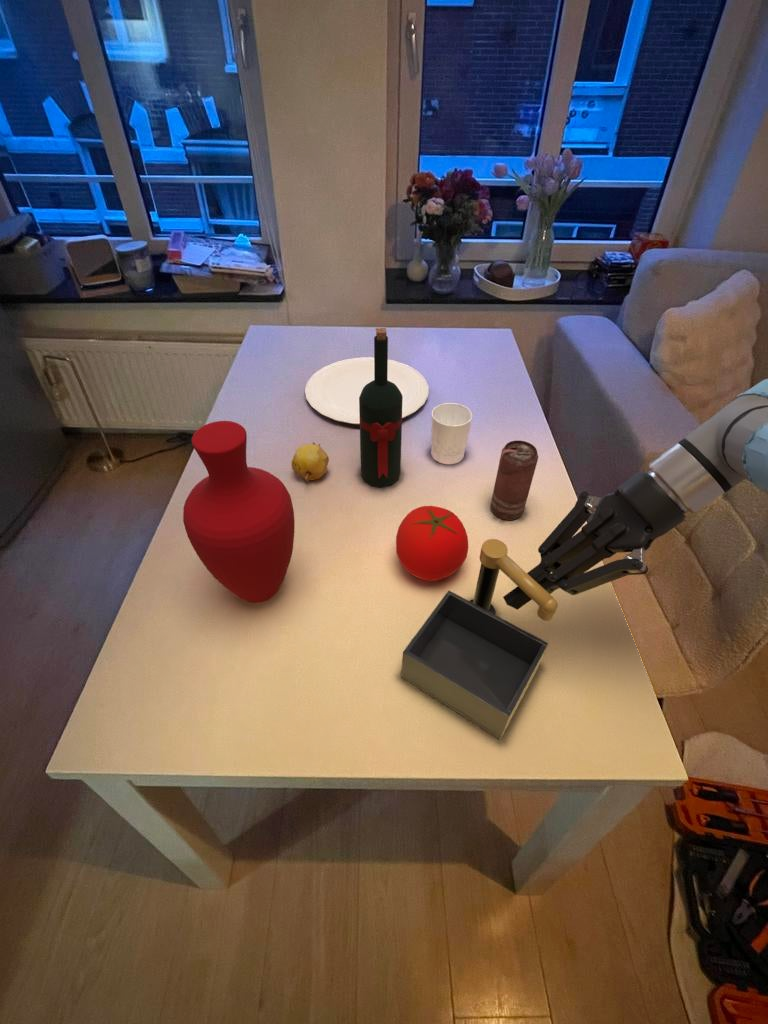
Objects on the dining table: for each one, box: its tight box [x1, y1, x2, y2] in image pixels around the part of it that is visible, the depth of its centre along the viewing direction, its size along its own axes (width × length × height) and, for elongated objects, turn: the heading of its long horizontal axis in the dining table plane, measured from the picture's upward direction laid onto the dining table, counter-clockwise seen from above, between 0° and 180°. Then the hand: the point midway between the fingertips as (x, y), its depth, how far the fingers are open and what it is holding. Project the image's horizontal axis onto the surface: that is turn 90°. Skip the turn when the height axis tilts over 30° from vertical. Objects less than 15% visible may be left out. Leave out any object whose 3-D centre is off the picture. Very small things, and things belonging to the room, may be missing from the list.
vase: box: [182, 420, 296, 604], centre depth 74 cm, size 15×15×30 cm
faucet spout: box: [479, 538, 559, 622], centre depth 68 cm, size 13×3×3 cm, turn 34°
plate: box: [304, 356, 430, 425], centre depth 124 cm, size 29×29×2 cm
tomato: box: [395, 505, 469, 582], centre depth 84 cm, size 12×12×10 cm
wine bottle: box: [359, 327, 403, 489], centre depth 93 cm, size 8×10×30 cm
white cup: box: [430, 402, 473, 465], centre depth 105 cm, size 8×8×10 cm
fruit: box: [291, 441, 330, 484], centre depth 102 cm, size 7×7×10 cm
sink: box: [401, 590, 549, 740], centre depth 72 cm, size 12×15×7 cm
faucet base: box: [469, 562, 501, 616], centre depth 76 cm, size 5×5×13 cm
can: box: [489, 440, 539, 521], centre depth 92 cm, size 6×6×14 cm
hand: (510, 603), depth 70 cm, fingers closed
